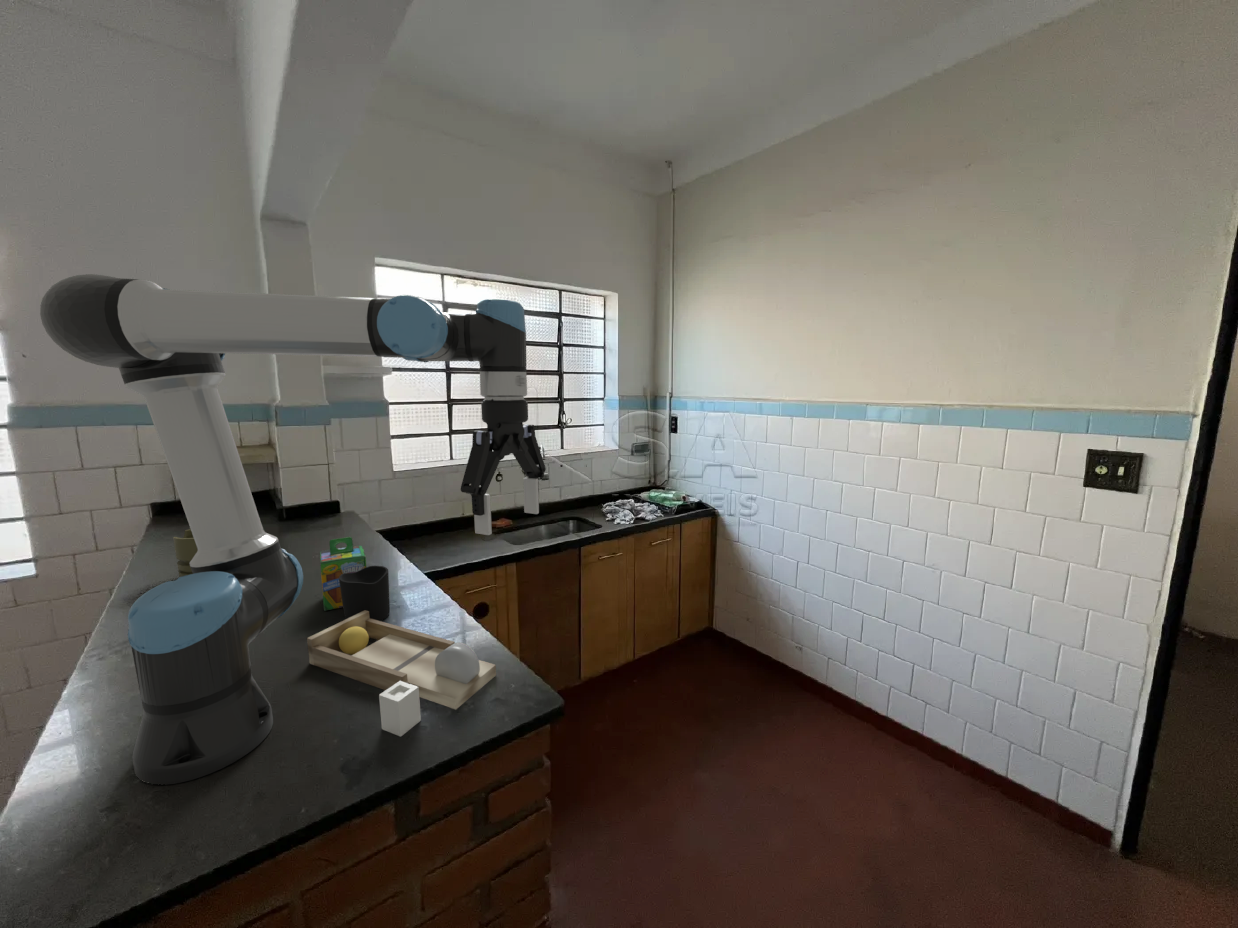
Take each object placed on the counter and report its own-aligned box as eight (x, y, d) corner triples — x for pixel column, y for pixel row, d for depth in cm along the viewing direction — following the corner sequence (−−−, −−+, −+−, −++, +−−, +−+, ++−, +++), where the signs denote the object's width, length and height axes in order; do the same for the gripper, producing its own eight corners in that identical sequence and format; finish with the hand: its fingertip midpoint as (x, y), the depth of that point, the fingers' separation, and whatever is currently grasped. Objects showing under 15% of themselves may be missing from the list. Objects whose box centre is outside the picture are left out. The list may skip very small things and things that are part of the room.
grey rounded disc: (468, 695, 81) (466, 656, 79) (435, 685, 83) (433, 646, 82) (480, 685, 83) (478, 647, 82) (448, 675, 86) (446, 638, 85)
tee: (400, 736, 71) (397, 701, 70) (381, 729, 73) (378, 694, 72) (420, 720, 75) (418, 686, 74) (402, 713, 76) (399, 680, 75)
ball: (330, 650, 92) (349, 664, 91) (334, 628, 91) (353, 642, 89) (354, 637, 97) (372, 651, 95) (358, 617, 95) (376, 630, 94)
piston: (163, 540, 121) (186, 527, 131) (170, 587, 123) (193, 570, 133) (218, 536, 124) (236, 524, 135) (224, 581, 126) (242, 565, 137)
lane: (451, 713, 76) (449, 684, 76) (309, 663, 90) (306, 638, 89) (499, 672, 87) (498, 646, 86) (366, 633, 100) (364, 610, 100)
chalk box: (324, 612, 109) (317, 548, 107) (323, 597, 117) (317, 537, 115) (370, 602, 114) (364, 541, 112) (366, 588, 122) (361, 531, 119)
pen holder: (384, 625, 103) (380, 581, 102) (336, 629, 102) (331, 583, 100) (396, 605, 113) (393, 564, 111) (352, 608, 111) (348, 566, 109)
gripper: (471, 401, 69) (478, 547, 72) (562, 396, 91) (564, 507, 95) (430, 400, 72) (439, 540, 75) (528, 395, 94) (531, 503, 98)
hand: (509, 522), depth 85 cm, fingers open, 13 cm apart
